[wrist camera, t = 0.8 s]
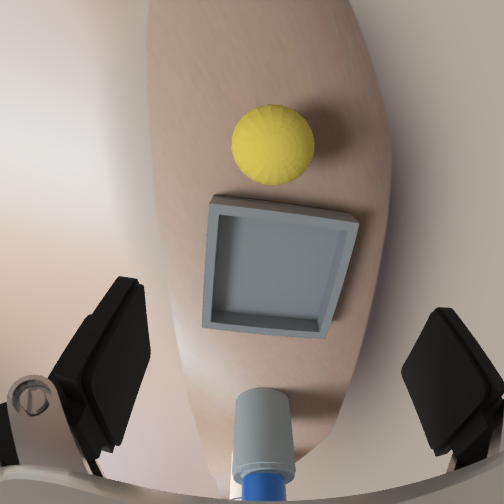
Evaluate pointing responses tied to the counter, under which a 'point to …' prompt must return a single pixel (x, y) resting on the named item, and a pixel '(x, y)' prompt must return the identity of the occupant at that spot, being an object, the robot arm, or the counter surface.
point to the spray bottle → (263, 445)
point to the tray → (274, 266)
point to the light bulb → (273, 144)
